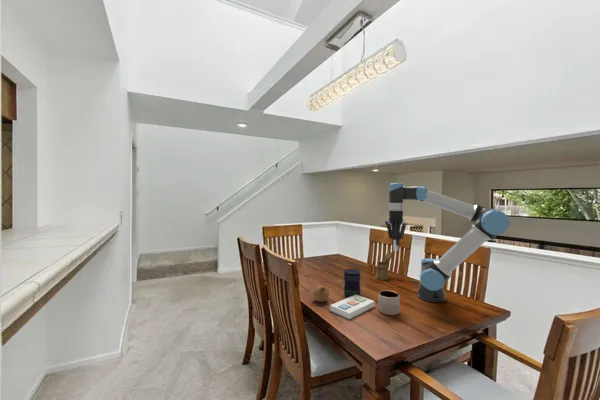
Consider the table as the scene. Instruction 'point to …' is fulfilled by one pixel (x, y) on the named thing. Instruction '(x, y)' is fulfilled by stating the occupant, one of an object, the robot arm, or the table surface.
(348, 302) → the button three dots
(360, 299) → the button two dots
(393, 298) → the planter
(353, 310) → the button panel
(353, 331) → the table surface
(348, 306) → the button one dot
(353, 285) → the navy blue cylinder
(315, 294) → the onion
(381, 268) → the wooden mug
